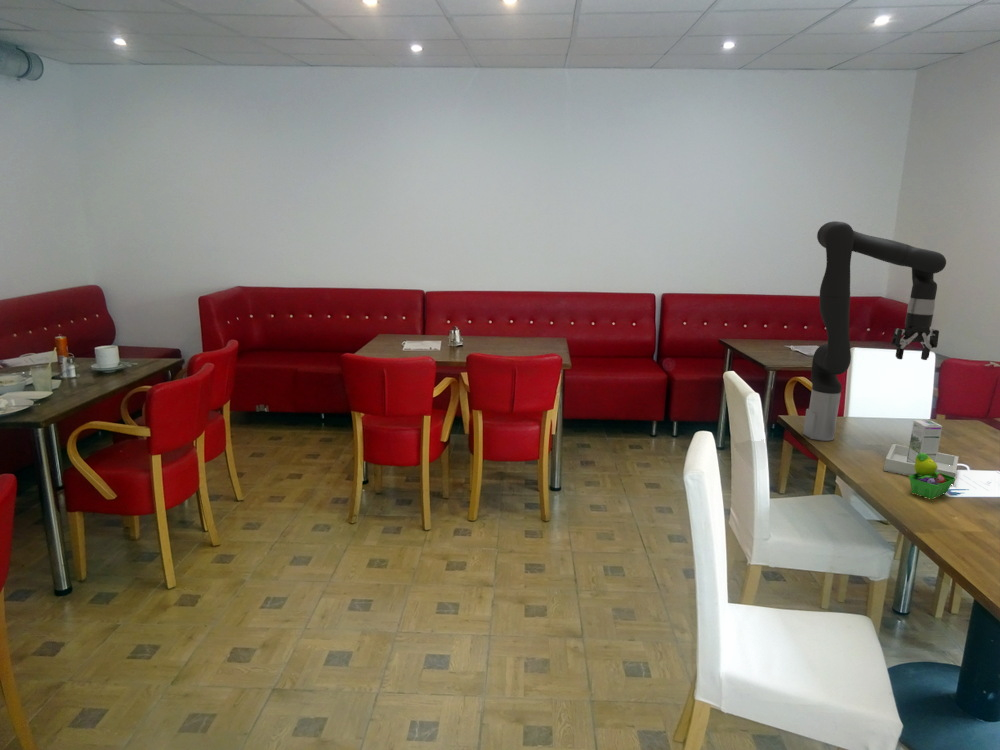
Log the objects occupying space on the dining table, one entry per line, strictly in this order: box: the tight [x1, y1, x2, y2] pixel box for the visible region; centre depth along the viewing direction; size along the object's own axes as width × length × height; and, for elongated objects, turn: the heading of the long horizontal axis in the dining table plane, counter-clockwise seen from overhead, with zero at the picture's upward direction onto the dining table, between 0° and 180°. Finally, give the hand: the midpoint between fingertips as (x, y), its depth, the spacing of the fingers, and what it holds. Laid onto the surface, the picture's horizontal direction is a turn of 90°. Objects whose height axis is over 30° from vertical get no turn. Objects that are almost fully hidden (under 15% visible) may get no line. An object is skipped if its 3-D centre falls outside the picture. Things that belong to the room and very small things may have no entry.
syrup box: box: [907, 419, 943, 464], centre depth 202 cm, size 6×6×14 cm
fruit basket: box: [908, 453, 956, 500], centre depth 185 cm, size 11×9×11 cm
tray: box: [883, 443, 959, 485], centre depth 203 cm, size 18×18×4 cm
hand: (911, 359), depth 221 cm, fingers open, 8 cm apart
